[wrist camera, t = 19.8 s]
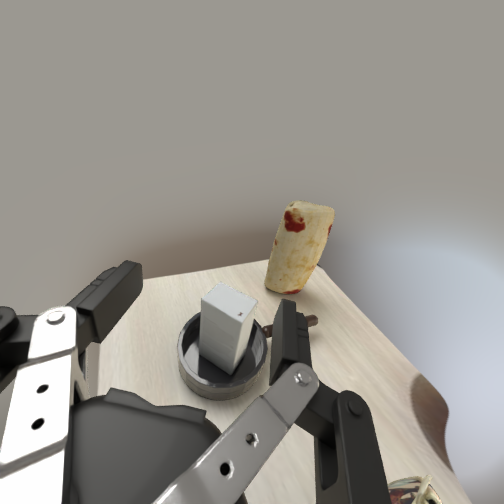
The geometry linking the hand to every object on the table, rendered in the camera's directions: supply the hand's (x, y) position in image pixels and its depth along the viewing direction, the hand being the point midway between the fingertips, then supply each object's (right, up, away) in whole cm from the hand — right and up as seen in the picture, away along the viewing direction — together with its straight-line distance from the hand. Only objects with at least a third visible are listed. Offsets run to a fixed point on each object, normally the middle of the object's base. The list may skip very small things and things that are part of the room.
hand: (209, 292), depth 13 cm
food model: (+9, -6, +37) cm, 39 cm away
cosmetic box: (-2, -13, +22) cm, 26 cm away
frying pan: (-2, -14, +22) cm, 26 cm away
